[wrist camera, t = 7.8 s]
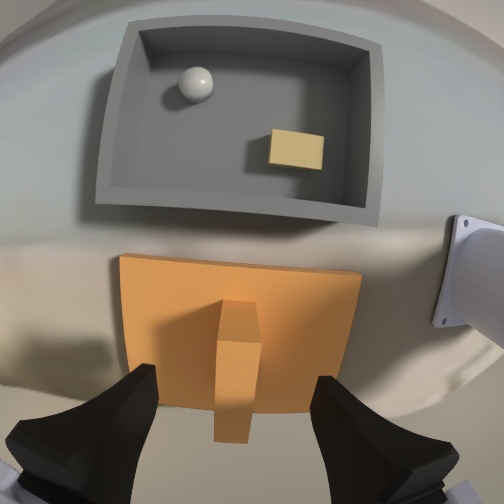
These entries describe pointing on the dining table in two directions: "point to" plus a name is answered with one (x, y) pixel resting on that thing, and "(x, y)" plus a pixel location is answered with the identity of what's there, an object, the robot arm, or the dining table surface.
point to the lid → (235, 333)
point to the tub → (245, 119)
